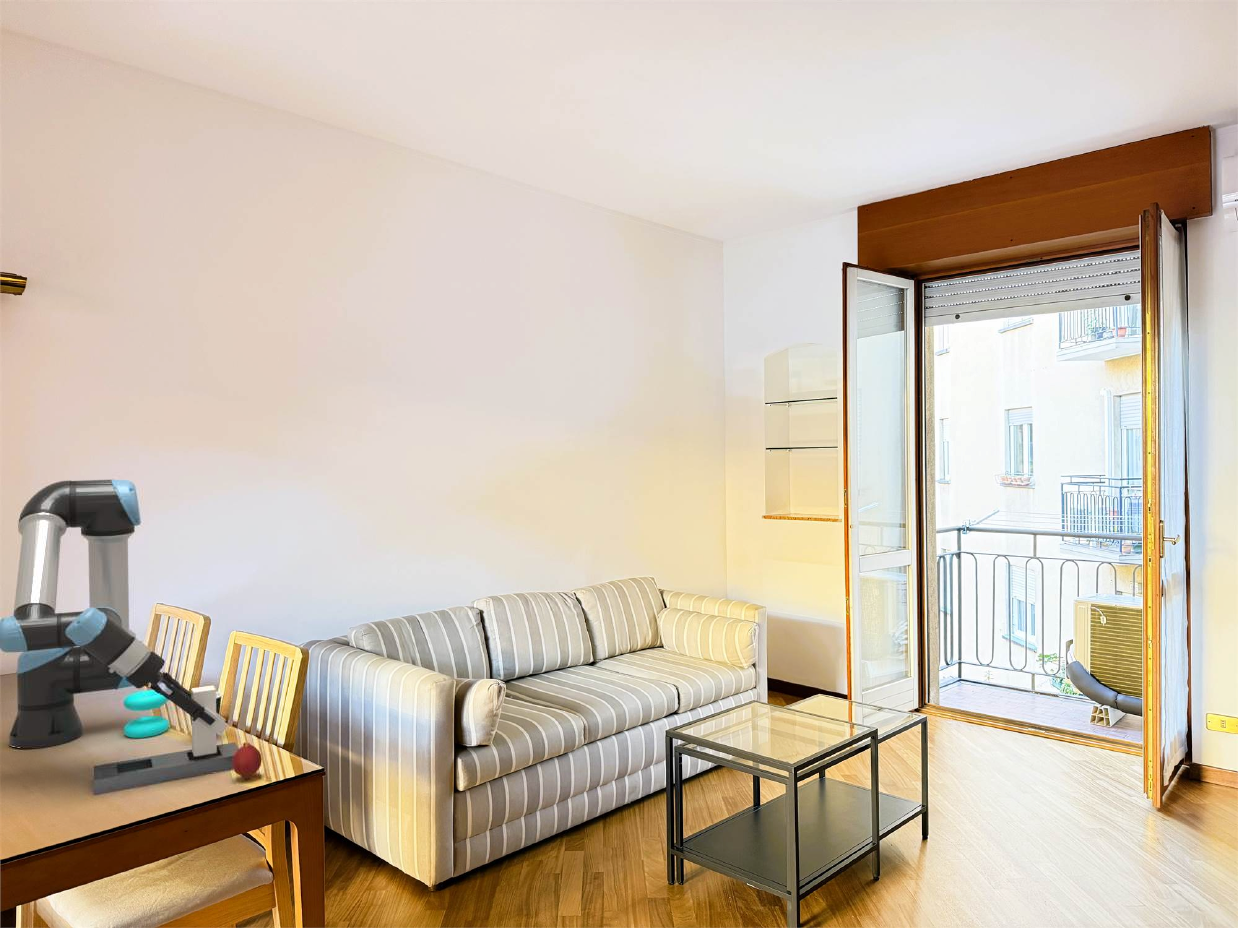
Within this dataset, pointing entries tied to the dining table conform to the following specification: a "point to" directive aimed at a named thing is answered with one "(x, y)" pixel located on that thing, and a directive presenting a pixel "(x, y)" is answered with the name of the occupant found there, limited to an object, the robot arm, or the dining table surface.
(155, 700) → the donuts
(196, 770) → the gray slotted board
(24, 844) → the dining table surface
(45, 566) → the robot arm
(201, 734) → the peg
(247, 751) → the onion
